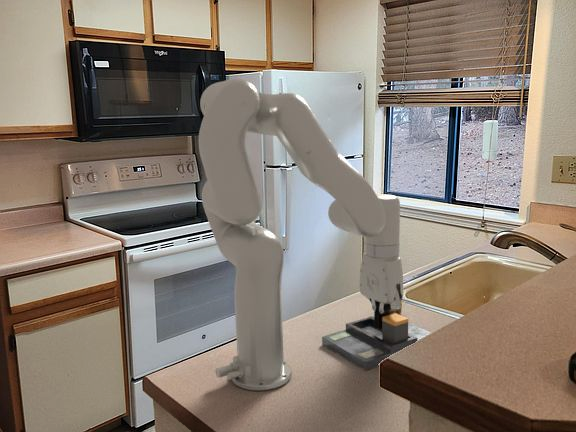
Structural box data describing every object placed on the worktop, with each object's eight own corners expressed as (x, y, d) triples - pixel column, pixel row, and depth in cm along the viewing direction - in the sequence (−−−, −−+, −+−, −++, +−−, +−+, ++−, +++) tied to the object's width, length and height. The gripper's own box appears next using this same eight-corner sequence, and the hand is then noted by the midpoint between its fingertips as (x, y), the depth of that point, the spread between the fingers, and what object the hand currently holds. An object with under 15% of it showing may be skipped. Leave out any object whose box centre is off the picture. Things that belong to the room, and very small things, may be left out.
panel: (365, 370, 111) (365, 355, 110) (322, 344, 124) (321, 330, 123) (439, 344, 122) (439, 330, 122) (392, 322, 135) (392, 310, 135)
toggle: (394, 348, 116) (394, 322, 115) (382, 342, 119) (382, 317, 118) (408, 343, 118) (408, 318, 117) (395, 337, 121) (395, 313, 120)
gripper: (347, 246, 122) (348, 321, 126) (394, 259, 110) (393, 342, 114) (371, 241, 126) (371, 313, 130) (419, 253, 114) (417, 333, 118)
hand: (381, 326), depth 122 cm, fingers closed
